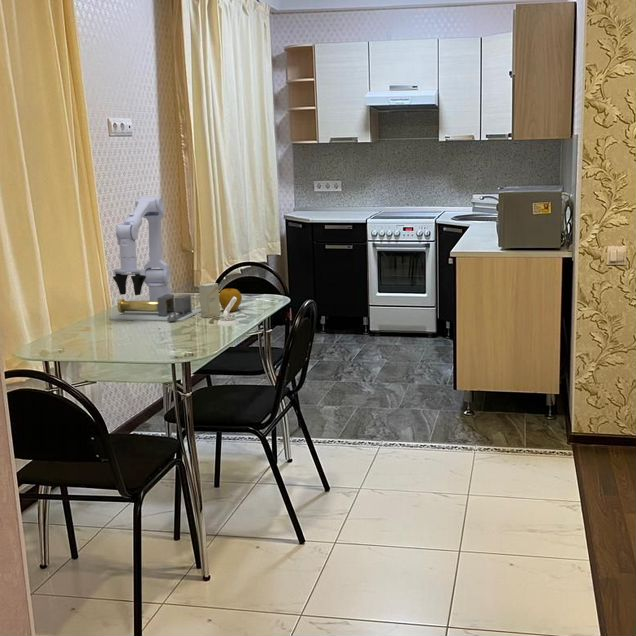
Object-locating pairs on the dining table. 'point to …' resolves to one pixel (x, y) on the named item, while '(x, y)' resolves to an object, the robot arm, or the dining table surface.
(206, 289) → the skincare box
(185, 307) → the chain end
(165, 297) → the chain end
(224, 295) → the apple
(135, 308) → the pin
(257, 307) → the dining table surface
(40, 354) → the dining table surface
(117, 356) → the dining table surface
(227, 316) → the white lever switch
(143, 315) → the mat
